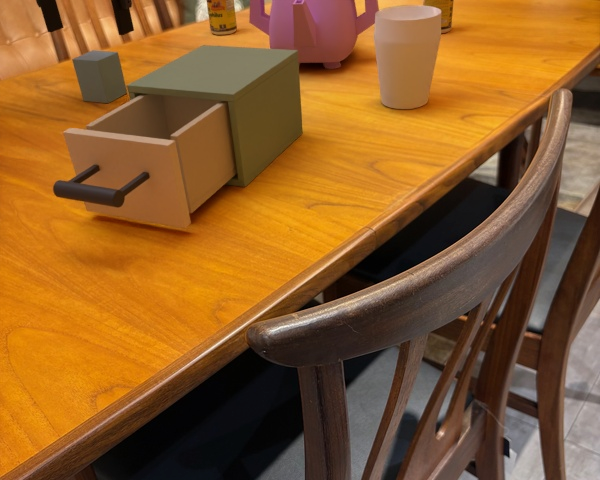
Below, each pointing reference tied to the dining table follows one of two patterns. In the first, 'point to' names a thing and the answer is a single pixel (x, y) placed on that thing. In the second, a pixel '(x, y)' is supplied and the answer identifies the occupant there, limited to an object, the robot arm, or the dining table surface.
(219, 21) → the supplement bottle
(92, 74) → the block
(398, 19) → the cup
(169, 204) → the drawer
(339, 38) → the teapot
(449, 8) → the supplement bottle
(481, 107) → the dining table surface
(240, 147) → the cabinet
